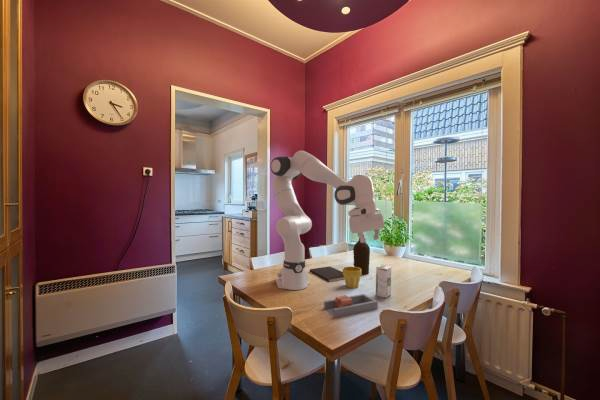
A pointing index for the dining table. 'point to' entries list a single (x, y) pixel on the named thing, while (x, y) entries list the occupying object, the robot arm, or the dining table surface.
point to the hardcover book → (328, 273)
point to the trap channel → (351, 306)
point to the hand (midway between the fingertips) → (369, 240)
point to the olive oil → (361, 256)
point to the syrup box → (383, 281)
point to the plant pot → (352, 276)
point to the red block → (343, 301)
